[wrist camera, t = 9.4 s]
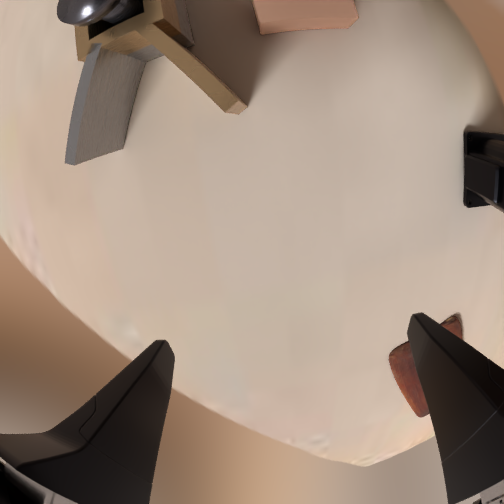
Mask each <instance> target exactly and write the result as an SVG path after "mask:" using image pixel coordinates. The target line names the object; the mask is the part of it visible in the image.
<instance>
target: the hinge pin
mask: <svg viewBox="0 0 504 504" xmlns="http://www.w3.org/2000/svg"><path fill="white" fill-rule="evenodd" d="M141 13H144V6H143V3H141V2H140V1H138V0H59V2H58V6H57V15H58V18H59V19H60V21H62V22H64V23H67V24H71V25H75V26H79V27H83V26H88V25H91V24H93V23H95V22H97V21H99V20H101V19H102V20H105V21H107V22H110V23H112V24H114V25H118V24H120V23H122V22H124V21H126V20H128V19H130V18H132V17H134V16H137V15H139V14H141Z"/></svg>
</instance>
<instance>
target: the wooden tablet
mask: <svg viewBox="0 0 504 504" xmlns="http://www.w3.org/2000/svg"><path fill="white" fill-rule="evenodd" d="M440 325H442V326H443V327H445V328H446V329H448V330H449V331H450V332H452V333H453V334H455V335H456V336H458V337H459V338H460V339H462V332H461V326H460V322H459V320H458V319H457V317H455V316H453V317H450V318H448V319H447V320H445V321H444V322H443V323H441V324H440ZM389 362H390V366H391V370H392V372H393V375H394V377H395V380H396V382H397V384H398V386H399V388H400V390H401V392H402V394H403V395H404V397H405V398H406V400H407V402H408V403H409V405H410V406H411V408H412V409H413V411H414V412H415V414H416V415H417V416H418V417H424V416H426V415H428V414H430V413H429V409H428V406H427V403H426V399H425V396H424V393H423V390H422V387H421V384H420V381H419V378H418V375H417V372H416V368H415V364H414V360H413V355H412V351H411V347H410V343H409V341H408V342H406V343H404V344H402V345H400V346H399V347H397V348H395V349H394V350H393V351H392V352H391V353H390V355H389Z"/></svg>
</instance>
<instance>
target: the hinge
mask: <svg viewBox="0 0 504 504" xmlns="http://www.w3.org/2000/svg"><path fill="white" fill-rule="evenodd" d="M138 1H140V2H141V3H143V6H144V13H141V14H139V15H137V16H134V17H132V18H130V19H128V20H126V21H124V22H122V23H120V24H118V25H114V24H112V23H110V22H107V21H105V20H102V19H101V20H99V21H97V22H95V23H93V24H91V25H88V26H83V27H79V26H75V37H76V47H77V56H78V61H83V62H85V63H84V66H83V70H82V73H81V77H80V81H79V84H78V88H77V93H76V97H75V101H74V106H73V111H72V116H71V122H70V128H69V134H68V141H67V148H66V157H65V163H67V164H71V165H77V164H80V163H82V162H85V161H88V160H91V159H93V158H96V157H99V156H102V155H105V154H108V153H111V152H115V151H118V150H121V149H123V146H124V141H125V137H126V132H127V127H128V123H129V119H130V115H131V111H132V107H133V103H134V99H135V96H136V92H137V89H138V85H139V82H140V79H141V76H142V72H143V69H144V66H145V63H146V62H148V61H150V60H153V59H155V58H158V57H161V56H163V55H165V56H166V57H167V58H168V59H169V60H170V61H172V62H173V63H174V64H175V65H176V66H177V67H178V68H179V69H180V70H182V71H183V72H184V73H185V74H186V75H187V76H188V77H189V78H190V79H191V80H192V81H193V82H194V83H195V84H197V85H198V86H199V87H200V88H201V89H202V90H203V91H204V92H205V93H206V94H207V95H208V96H209V97H210V98H211V99H212V100H213V101H214V102H215V103H216V104H217V105H218V106H219V107H220V108H221V109H222V110H223V111H224V112H225V113H232V114H238V115H239V114H240V113H241V112H242V111H243V110H244V109H246V108H247V106H246V104H245V103H244V102H243V101H242V100H241V99H240V98H239V97H238V96H237V95H236V94H235V93H234V92H233V91H232V90H231V89H230V88H229V87H228V86H227V85H226V84H225V83H224V82H222V81H221V80H220V79H219V78H218V77H217V76H216V75H215V74H214V73H213V72H212V71H211V70H210V69H209V68H208V67H207V66H205V65H204V64H203V63H202V62H201V61H200V60H199V59H198V58H197V57H196V56H194V55H193V54H192V53H191V52H190V51H189V50H188V49H186V48H187V47H190V46H193V45H194V40H193V36H192V31H191V27H190V22H189V18H188V13H187V9H186V4H185V0H138Z"/></svg>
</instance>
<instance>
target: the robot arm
mask: <svg viewBox="0 0 504 504" xmlns="http://www.w3.org/2000/svg"><path fill="white" fill-rule="evenodd" d="M469 136H470V139H469ZM464 157H465V176H464V200H463V202H464V205H465V206H466V207H468V208H472V207H479V206H487V205H492V206H494V207H495V208H497V209H499V210H500V211H502V212H503V213H504V134H496V133H486V132H474V131H466V132H465V133H464ZM468 201H469V202H468ZM407 335H408V340H409V343H410V347H411V351H412V355H413V360H414V364H415V368H416V372H417V375H418V378H419V381H420V384H421V387H422V390H423V393H424V396H425V399H426V403H427V406H428V409H429V413H430V416H431V420H432V424H433V427H434V431H435V435H436V439H437V443H438V448H439V452H440V456H441V461H442V467H443V473H444V478H445V484H446V491H447V498H448V504H456V503H458V502H460V501H463V500H465V499H467V498H470V497H472V496H474V495H476V494H478V493H480V496H481V498H480V499H478V500H477V501H475V502H473V504H504V369H502V368H501V367H500V366H498V365H497V364H495V363H494V362H493V361H491V360H490V359H488V358H487V357H486V356H484V355H483V354H482V353H480V352H479V351H477V350H476V349H475V348H473V347H472V346H470V345H469V344H468V343H466V342H465V341H463V340H462V339H460V338H459V337H458V336H456V335H455V334H453V333H452V332H450V331H449V330H448V329H446V328H445V327H443V326H442V325H440V324H439V323H437V322H436V321H434V320H433V319H431V318H430V317H428V316H427V315H425V314H424V313H416V314H413V315H412V316H411V319H410V323H409V327H408V331H407ZM174 362H175V356H174V353H173V351H172V349H171V347H170V345H169V343H168V342H167V341H166V340H156V341H154V342H153V343H152V344H151V345H150V346H149V347H148V348H146V349H145V350H144V351H143V352H142V353H141V354H140V355H139V356H138V357H137V358H135V359H134V360H133V361H132V362H131V363H130V364H129V365H128V366H127V367H125V368H124V369H123V370H122V371H121V372H120V373H119V374H118V375H117V376H115V378H113V379H112V380H111V381H110V382H109V383H108V384H107V385H105V386H104V387H103V388H102V389H101V390H100V391H99V392H98V393H97V394H96V395H94V396H93V397H92V398H91V399H90V400H89V401H88V402H86V403H85V404H84V405H83V406H82V407H80V408H79V409H78V410H77V411H75V412H74V413H73V414H71V415H70V416H69V417H68V418H66V419H65V420H63V421H62V422H61V423H59V424H58V425H57V426H55V427H54V428H52V429H51V430H49V431H46V432H43V433H36V434H0V457H1V458H2V459H3V460H5V461H6V464H4V463H3V462H1V461H0V504H149V501H150V494H151V489H152V483H153V477H154V471H155V466H156V461H157V455H158V450H159V445H160V441H161V436H162V431H163V426H164V421H165V417H166V413H167V408H168V403H169V399H170V394H171V388H172V379H173V370H174Z"/></svg>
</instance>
